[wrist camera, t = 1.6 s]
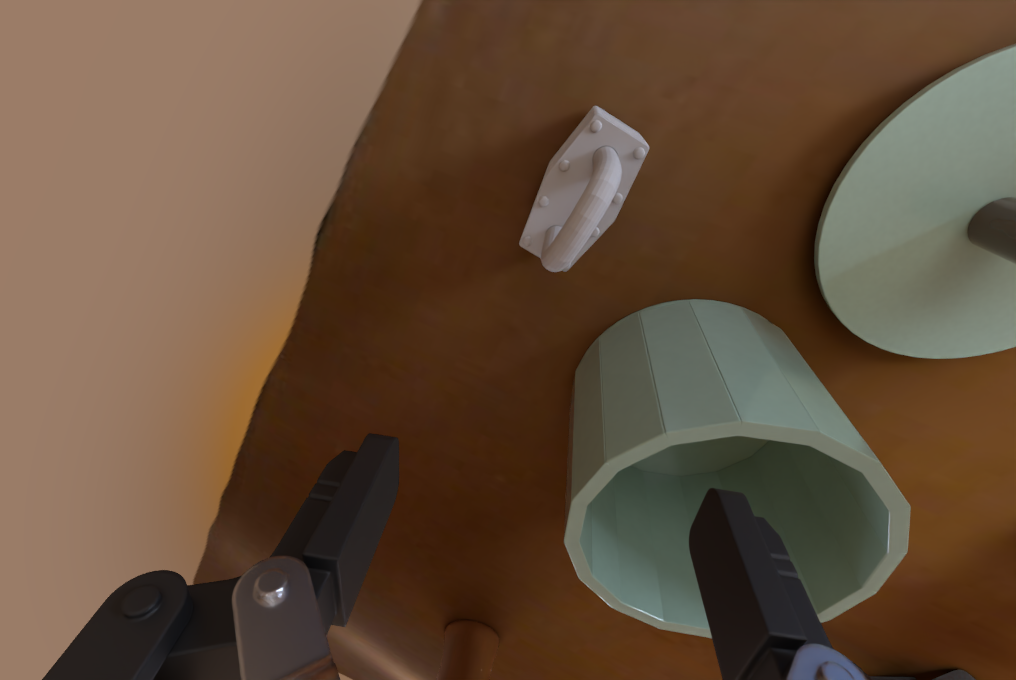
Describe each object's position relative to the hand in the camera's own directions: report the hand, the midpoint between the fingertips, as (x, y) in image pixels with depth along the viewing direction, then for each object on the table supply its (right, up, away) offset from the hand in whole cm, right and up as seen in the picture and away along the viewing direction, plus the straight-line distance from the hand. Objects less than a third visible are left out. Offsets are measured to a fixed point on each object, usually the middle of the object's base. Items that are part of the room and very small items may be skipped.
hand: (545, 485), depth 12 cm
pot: (+11, 0, +21) cm, 24 cm away
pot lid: (+24, +10, +12) cm, 29 cm away
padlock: (+3, +13, +15) cm, 20 cm away
